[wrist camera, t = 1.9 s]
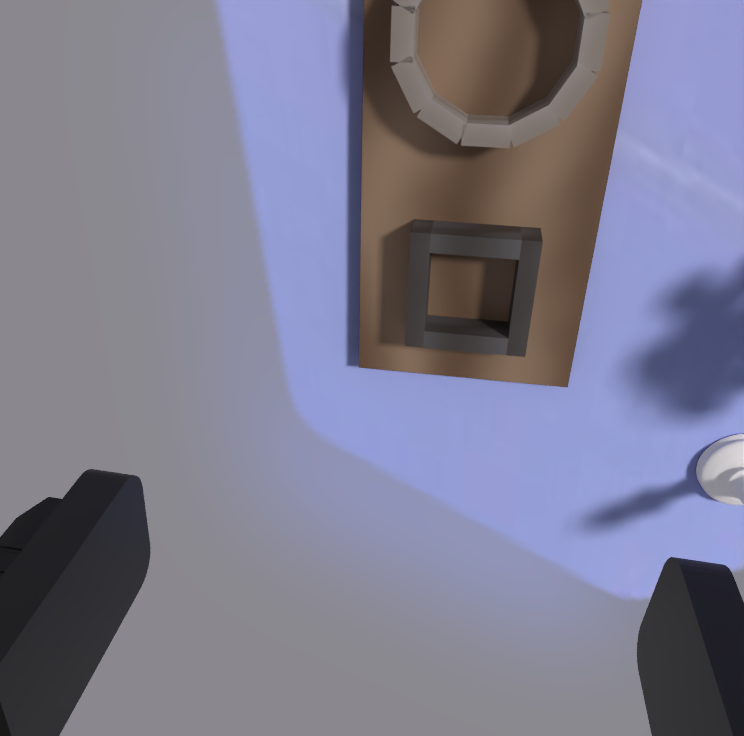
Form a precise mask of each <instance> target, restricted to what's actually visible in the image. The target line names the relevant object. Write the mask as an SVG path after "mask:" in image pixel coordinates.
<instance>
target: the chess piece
mask: <svg viewBox="0 0 744 736" xmlns="http://www.w3.org/2000/svg"><path fill="white" fill-rule="evenodd" d="M696 475H697V479H698V481H699V483H700V484H701V486H702V487H703V489H704V490H705V492H706V493H707V494H708V495H709V496H711V497H712V498H714V499H715V500H717V501H720V502H722V503H726V504H731V505H744V434H737V435H732V436H728V437H725V438H723V439H720V440H718V441H717V442H715V443H713V444H712V445H710V446H709V447H708V448H707V449H706V450H705V451H704V452H703V453H702V455H701V456H700V458H699V460H698V463H697V467H696Z"/></svg>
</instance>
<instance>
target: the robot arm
mask: <svg viewBox="0 0 744 736" xmlns="http://www.w3.org/2000/svg"><path fill="white" fill-rule="evenodd" d="M149 560H150V541H149V533H148V526H147V518H146V510H145V502H144V495H143V487H142V483H141V480H140V478H139V477H137V476H134V475H128V474H121V473H114V472H107V471H100V470H94V469H89V470H87V471H85V472H84V473H83V474H82V475H81V476H80V477H79V478H78V480H77V481H76V482H75V484H74V485H73V486H72V487H71V489H70V490H69V491H68V492H67V494H66V495H65V496H64V498H63V499H59V498H52V497H48V498H46V499H45V500H43V501H42V502H40V503H39V504H37V505H36V506H34V507H32V508H31V509H29V510H28V511H26V512H25V513H23V514H22V515H20V516H19V517H17V518H16V519H15V520H14V522H13V523H12V524H11V525H10V526H9V527H8V529H7V530H6V531H5V532H4V533H3V535H2V536H1V537H0V736H59V735H60V733H61V731H62V730H63V727H64V726H65V724H66V722H67V720H68V719H69V717H70V715H71V713H72V711H73V710H74V708H75V706H76V704H77V702H78V701H79V699H80V697H81V695H82V693H83V692H84V690H85V688H86V686H87V684H88V682H89V681H90V679H91V677H92V675H93V673H94V672H95V670H96V668H97V666H98V664H99V662H100V661H101V659H102V657H103V655H104V654H105V652H106V650H107V648H108V646H109V645H110V643H111V641H112V639H113V637H114V635H115V634H116V632H117V630H118V628H119V626H120V625H121V623H122V621H123V619H124V617H125V615H126V614H127V612H128V610H129V608H130V607H131V605H132V603H133V601H134V599H135V597H136V596H137V594H138V592H139V590H140V588H141V586H142V584H143V582H144V579H145V577H146V573H147V570H148V565H149ZM637 663H638V670H639V675H640V680H641V685H642V690H643V695H644V700H645V704H646V709H647V714H648V719H649V724H650V728H651V733H652V736H744V602H743V600H742V597H741V595H740V592H739V590H738V587H737V584H736V582H735V579H734V577H733V575H732V572H731V571H730V569H729V568H728V567H727V566H725V565H721V564H715V563H708V562H701V561H695V560H688V559H681V558H674V557H671V558H669V559H668V560H667V561H666V563H665V564H664V567H663V569H662V572H661V574H660V577H659V579H658V582H657V584H656V587H655V590H654V592H653V595H652V597H651V600H650V603H649V605H648V608H647V610H646V613H645V616H644V618H643V621H642V623H641V626H640V630H639V635H638V643H637Z"/></svg>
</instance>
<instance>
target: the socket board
mask: <svg viewBox="0 0 744 736" xmlns="http://www.w3.org/2000/svg"><path fill="white" fill-rule="evenodd" d="M641 4H642V0H364V49H363V118H362V187H361V256H360V325H359V367H361V368H372V369H382V370H393V371H403V372H414V373H424V374H434V375H445V376H455V377H466V378H476V379H487V380H497V381H507V382H518V383H528V384H539V385H549V386H560V387H568V382H569V377H570V372H571V366H572V361H573V356H574V351H575V346H576V340H577V335H578V330H579V325H580V320H581V315H582V309H583V304H584V299H585V294H586V289H587V283H588V278H589V273H590V268H591V263H592V258H593V252H594V247H595V242H596V237H597V232H598V226H599V221H600V216H601V211H602V206H603V201H604V195H605V190H606V185H607V180H608V175H609V169H610V164H611V159H612V154H613V149H614V144H615V138H616V133H617V128H618V123H619V118H620V112H621V107H622V102H623V97H624V92H625V87H626V81H627V76H628V71H629V66H630V61H631V56H632V50H633V45H634V40H635V35H636V30H637V24H638V19H639V14H640V9H641Z"/></svg>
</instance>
